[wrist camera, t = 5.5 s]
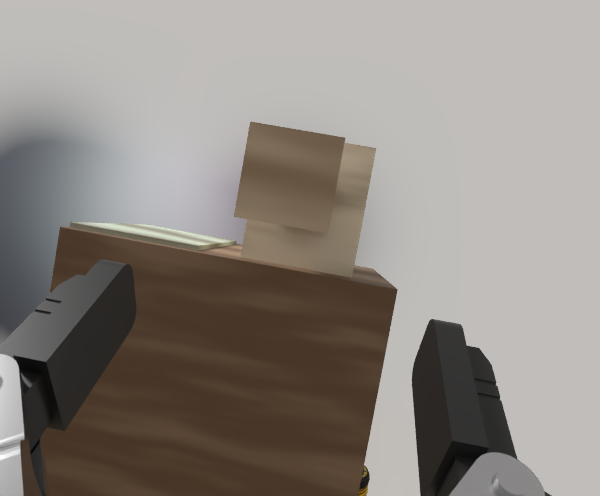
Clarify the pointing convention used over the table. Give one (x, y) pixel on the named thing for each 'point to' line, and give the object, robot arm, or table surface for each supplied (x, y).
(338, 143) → the wooden mallet
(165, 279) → the tall wood-grain block
